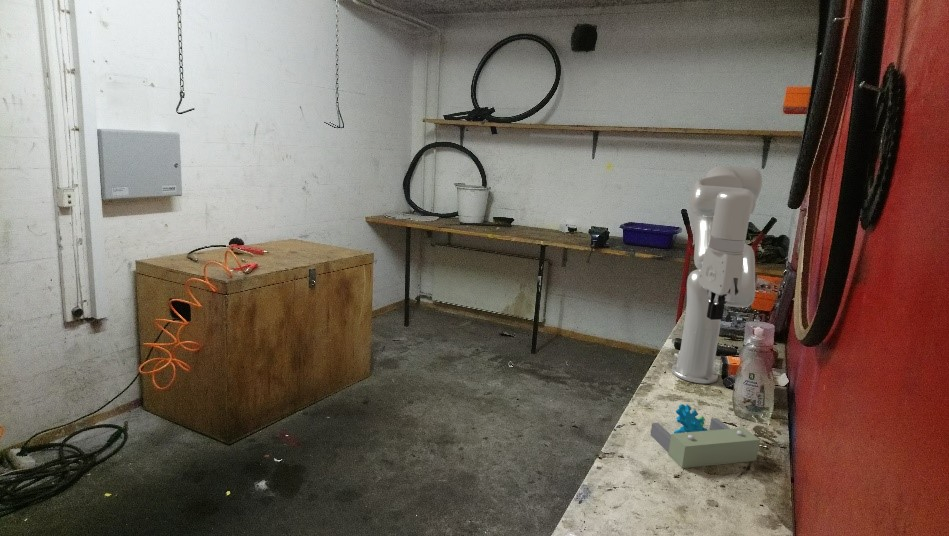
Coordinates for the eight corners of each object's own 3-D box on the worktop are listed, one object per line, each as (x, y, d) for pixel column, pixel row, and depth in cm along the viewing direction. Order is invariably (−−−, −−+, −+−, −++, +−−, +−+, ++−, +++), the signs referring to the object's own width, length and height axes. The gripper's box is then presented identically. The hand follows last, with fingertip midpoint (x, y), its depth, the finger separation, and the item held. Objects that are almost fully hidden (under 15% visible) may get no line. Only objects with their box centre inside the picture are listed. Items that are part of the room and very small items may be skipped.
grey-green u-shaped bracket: (648, 435, 126) (651, 412, 124) (716, 429, 130) (720, 407, 129) (681, 468, 113) (685, 443, 112) (755, 460, 118) (760, 437, 116)
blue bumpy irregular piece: (698, 450, 117) (674, 406, 121) (676, 459, 121) (653, 416, 125) (719, 439, 125) (696, 399, 129) (698, 449, 129) (675, 409, 133)
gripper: (694, 237, 135) (683, 308, 140) (732, 252, 121) (718, 330, 125) (721, 237, 136) (710, 307, 141) (762, 252, 122) (748, 329, 127)
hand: (714, 318), depth 133 cm, fingers closed
